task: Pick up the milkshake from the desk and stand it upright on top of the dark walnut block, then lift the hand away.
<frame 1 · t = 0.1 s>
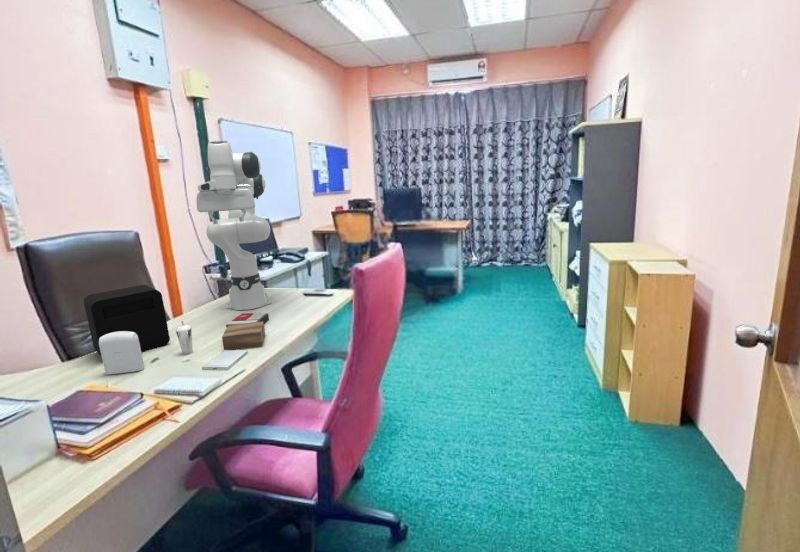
hand: (228, 223, 162), 39 cm above the table, tool pointing down, fingers open, 8 cm apart
photo printer: (125, 371, 129), on the table
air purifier: (133, 348, 148), on the table
hard drive: (226, 363, 133), on the table
book: (249, 327, 164), on the table
milkshake: (187, 352, 142), on the table
walnut base: (245, 342, 147), on the table
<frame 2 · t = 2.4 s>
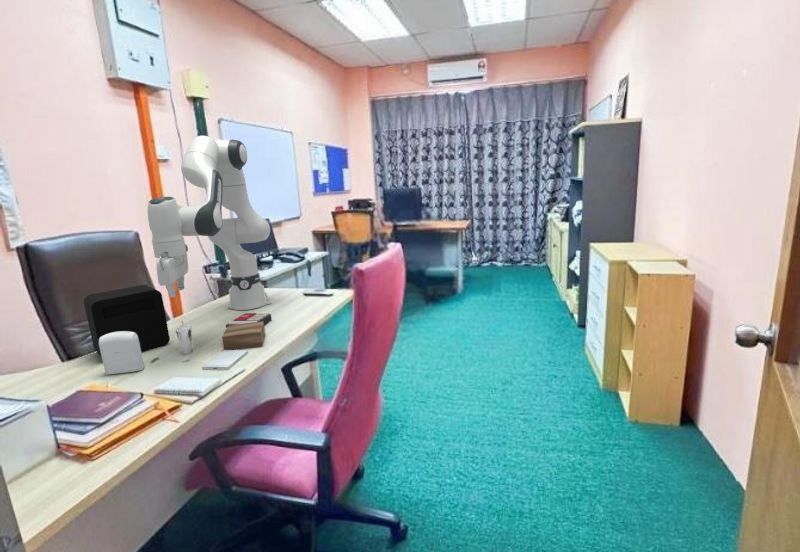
hand: (177, 293, 137), 20 cm above the table, tool pointing down, fingers open, 8 cm apart
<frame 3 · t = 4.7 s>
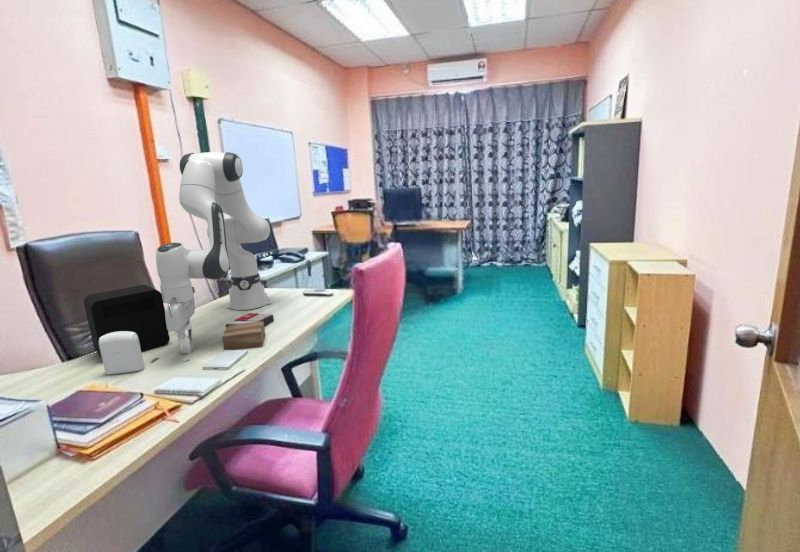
hand: (184, 335, 140), 6 cm above the table, tool pointing down, fingers closed on milkshake, 4 cm apart
milkshake: (187, 352, 142), on the table, touching gripper
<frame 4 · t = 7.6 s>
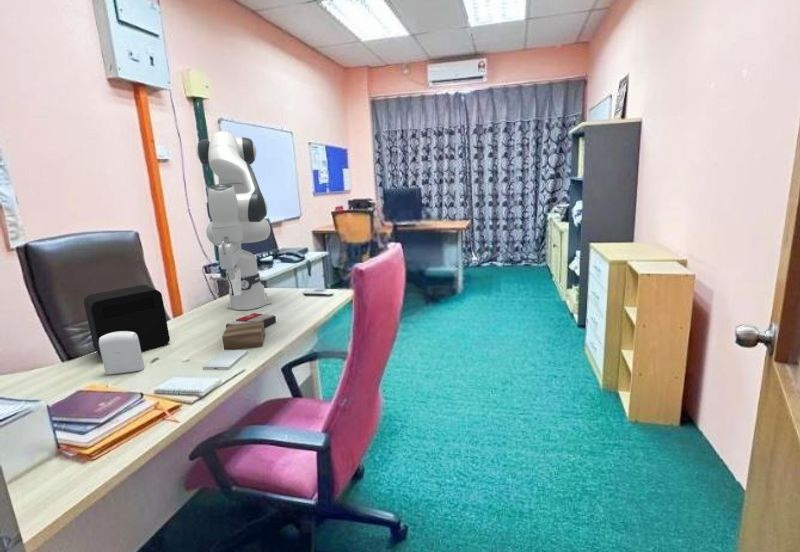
hand: (233, 277, 142), 23 cm above the table, tool pointing down, fingers closed on milkshake, 4 cm apart
milkshake: (236, 294, 144), point 17 cm above the table, touching gripper
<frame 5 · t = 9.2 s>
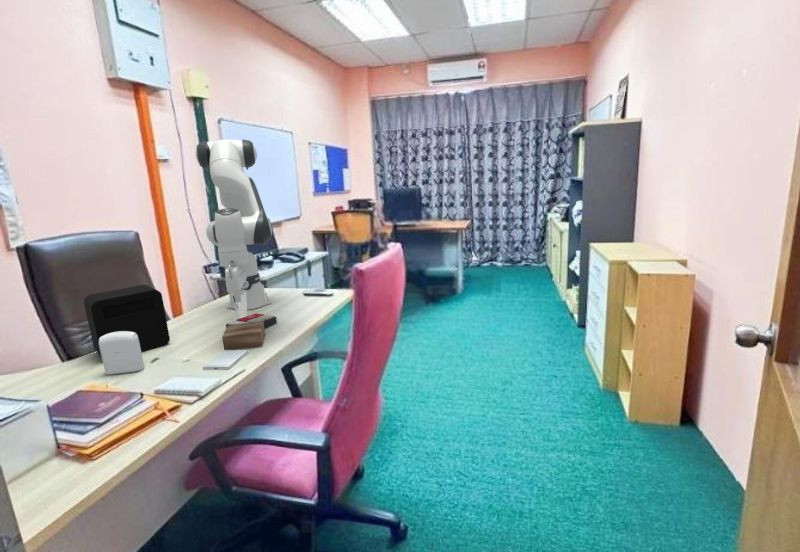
hand: (239, 299, 144), 15 cm above the table, tool pointing down, fingers closed on milkshake, 4 cm apart
milkshake: (242, 316, 146), point 9 cm above the table, touching gripper
when the fingers open (11 cm above the table, at t = 10.7 s): milkshake stays where it is, resting on walnut base.
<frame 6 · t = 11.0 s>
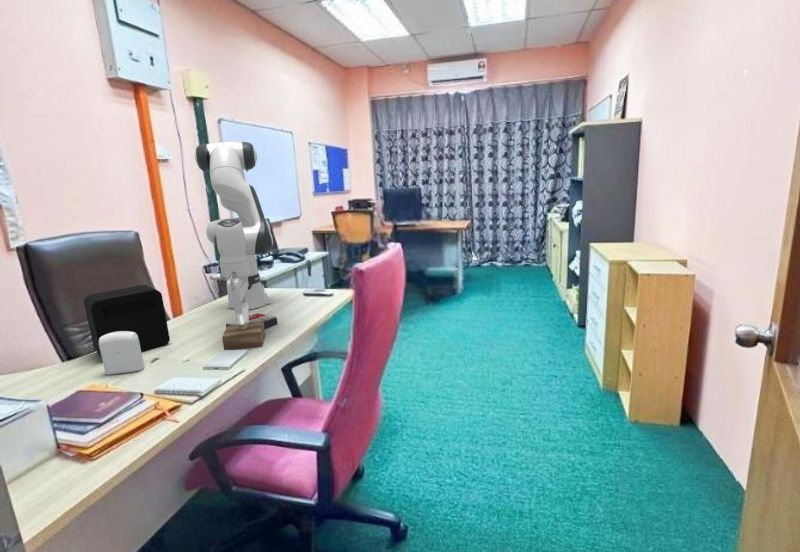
hand: (241, 310, 145), 12 cm above the table, tool pointing down, fingers open, 7 cm apart
milkshake: (244, 328, 147), point 5 cm above the table, touching walnut base
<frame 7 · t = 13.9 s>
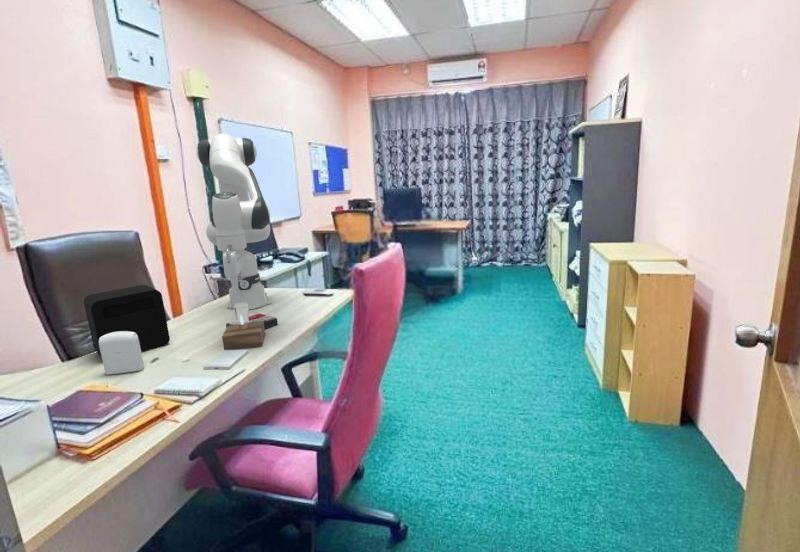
hand: (237, 284, 143), 20 cm above the table, tool pointing down, fingers open, 8 cm apart
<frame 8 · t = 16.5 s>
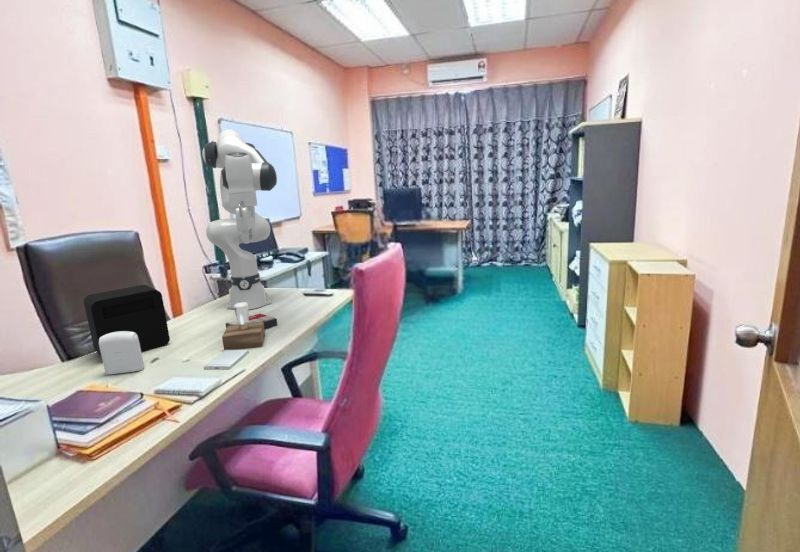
hand: (248, 241, 150), 33 cm above the table, tool pointing down, fingers open, 8 cm apart
at the end: milkshake inside the target area on the walnut base (0.4 cm from its centre), point 4.8 cm above the walnut base's base; milkshake tilted 0°; the gripper is holding nothing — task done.
